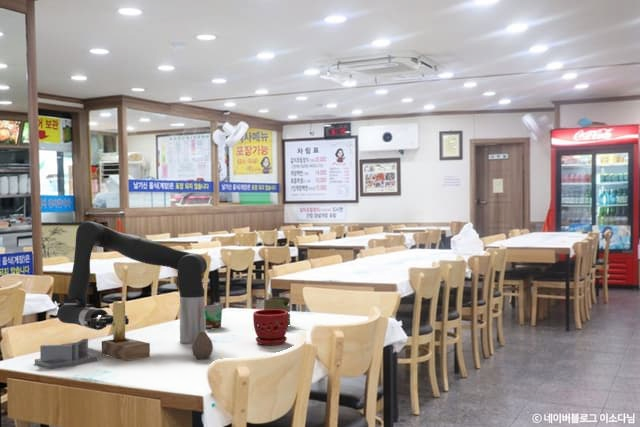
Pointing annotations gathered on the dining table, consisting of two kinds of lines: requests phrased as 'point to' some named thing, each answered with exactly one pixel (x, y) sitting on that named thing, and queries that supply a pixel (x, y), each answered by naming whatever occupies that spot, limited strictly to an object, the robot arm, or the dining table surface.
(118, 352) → the brown wooden box
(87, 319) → the robot arm
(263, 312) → the plant pot
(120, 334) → the axle
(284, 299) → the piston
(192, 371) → the dining table surface
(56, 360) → the v block
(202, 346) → the vase
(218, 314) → the food container
